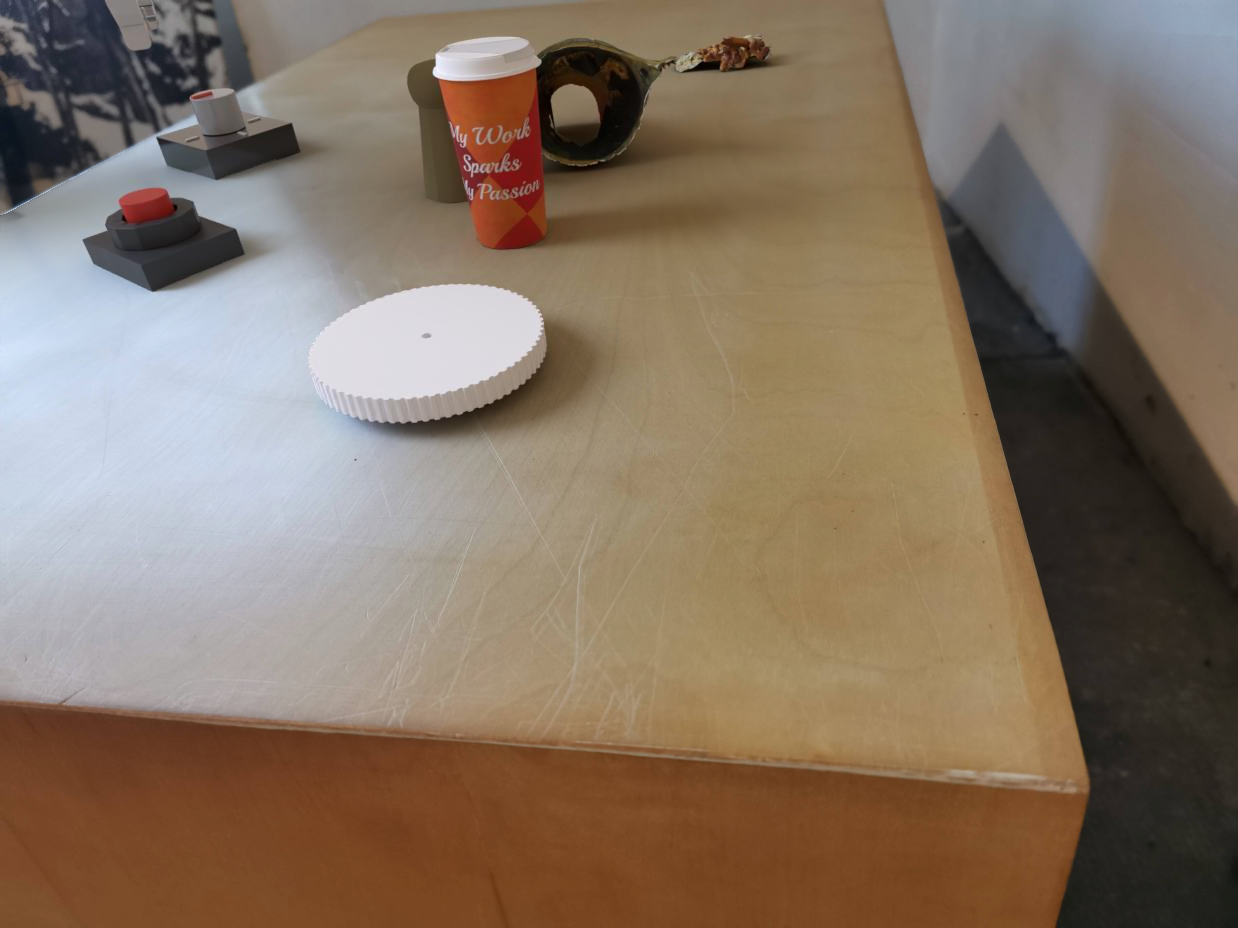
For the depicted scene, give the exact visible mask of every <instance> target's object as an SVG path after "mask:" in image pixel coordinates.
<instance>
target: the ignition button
mask: <svg viewBox="0 0 1238 928" xmlns="http://www.w3.org/2000/svg"><path fill="white" fill-rule="evenodd" d="M170 198H171V196H170V194H169V191H168V190H167V189H166V188H162V187H148V188H147V187H146V188H142V189H141V188H140V189H137V190H133V191H131V192H128V193H126V194H124V195H122V196H121V197H120V198H119V199H118V205H119V207H120V209H122V211H123V214H124V216H125V218H126V221H127V223H141V222H147V221H152V220H156V219H159V218H162V217H165V216H168V215H170V214H172V213H173V212H175V209H174V207H173V204H172V202H171V199H170Z"/></svg>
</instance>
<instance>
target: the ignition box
mask: <svg viewBox="0 0 1238 928" xmlns="http://www.w3.org/2000/svg"><path fill="white" fill-rule="evenodd" d="M170 199H171V202H172V204H173V207H174V209H175V212H173V213H172V214H170V215H168V216H165V217H162V218H159V219H156V220H152V221H147V222H141V223H127V221H126V218H125V216H124V214H123V211H122V209H121V208H120V209H118V210H116V211H115V212H113V213H112V214H110V215H108V216H106V220H105V223H104V226H105V228H106V230H105V231H102V232H98V233H96V234H94V235H90V236H88V237H84V238H83V239H82V240H81V241H82V243H83V245H84V247H85V249H86V251H87V252H88V255H89V257H90V259H91V262H92V264H93V265H94V266H96V267H98V268H101V269H102V270H105V271H107V272H109V273H111V274H113V275H116V276H118V277H120V278H121V279H124V280H126V281H128V282H130V283H133V284H135V285H137V286H139V287H141V288H143V289H145V290H147V291H150V292H152V293H153V292H156V291H158V290H160V289H163V288H165V287H168V286H171V285H173V284H176V283H178V282H180V281H183V280H185V279H187V278H191V277H193V276H195V275H198V274H199V273H202V272H205V271H207V270H210V269H212V268H214V267H217V266H219V265H222V264H224V263H226V262H230V261H231V260H232V261H233V259H236V258H239V257H241V256H244V255H245V254H246V253H245V250H244V247H243V244H242V242H241V239H240V236H239V233H238V230H237V229H236V228H234V227H232V226H230V225H226V224H223V223H221V222H218V221H215V220H213V219H209V218H206V217H205V216H201V215H199V213H198V210H197V208H196V205H195V203H194V200H191V199H188V198H185V197H170Z"/></svg>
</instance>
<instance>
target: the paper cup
mask: <svg viewBox="0 0 1238 928" xmlns="http://www.w3.org/2000/svg"><path fill="white" fill-rule="evenodd" d="M535 53H536V50H535V49H534V48H533V47H532V46H531V43H530V41H529V40H528V39H526V38H522V37H519V36H518V37H517V36H488V37H479V38H474V39H473V38H471V39H465V40H461V41H457V42H453V43H450V44H446V45H445V46H444V47H443V48H441V49H440V50H439V51H438V52H436V53H435V59H436V66H435V67H434V69H433V75H434V76H435V77H437V78H438V79H439V83H440V87H441V91H442V95H443V100H444V104H445V108H446V113H447V117H448V121H449V125H450V129H451V133H452V137H453V141H454V145H455V149H456V154H457V158H458V162H459V166H460V170H461V174H462V178H463V182H464V186H465V191H466V195H467V199H468V200H467V203H468V207H469V210H470V214H471V218H472V222H473V226H474V229H475V233H476V236H477V239H478V241H479V243H480V244H481V245H482V246H484V247H486V248H490V249H495V250H510V249H518V248H523V247H527V246H530V245H533V244H535V243H537V242H539V241H541V240H542V239H544V237H545V236H546V234H547V212H546V211H547V209H546V196H545V180H544V179H545V177H544V167H543V166H544V165H543V164H544V163H543V154H542V149H541V135H540V121H539V107H538V92H537V78H536V67H538V66H539V65H540V64H541V60H540V59H538V57H537V54H535Z"/></svg>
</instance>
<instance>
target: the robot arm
mask: <svg viewBox="0 0 1238 928" xmlns="http://www.w3.org/2000/svg"><path fill="white" fill-rule="evenodd" d="M104 2H105V4H106V7H107V8H108V10H109V11H110V14H111V15H112V17H113V19H114V21H115V22H116V24H117V26H118V27H119V29H120V32H121V34H122V37H123V40H124V42H125V45H126V47H127V48H128V49H129V50H131V51H133V52H136V51H142V50H148V49H150V48H151V46H152V42H153V38H152V36H151V33H150V31H154V30H157V28H158V27H159V25H160V19H159V17H158V14H157V11H156V9H155V5H154V2H153V0H104Z"/></svg>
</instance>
